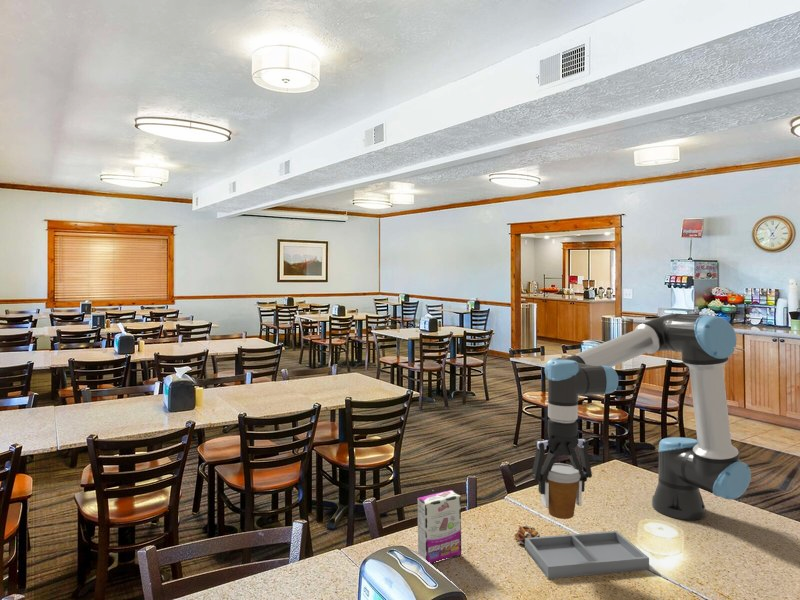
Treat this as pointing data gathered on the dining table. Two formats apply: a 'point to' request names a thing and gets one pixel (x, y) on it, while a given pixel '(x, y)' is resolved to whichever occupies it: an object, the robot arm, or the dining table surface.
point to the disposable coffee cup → (562, 490)
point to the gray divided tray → (585, 554)
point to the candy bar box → (439, 526)
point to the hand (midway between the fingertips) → (561, 504)
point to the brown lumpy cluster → (525, 533)
